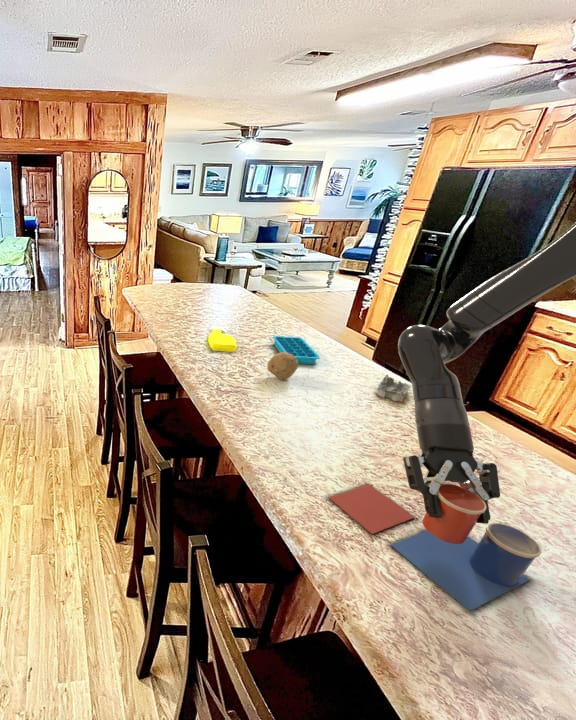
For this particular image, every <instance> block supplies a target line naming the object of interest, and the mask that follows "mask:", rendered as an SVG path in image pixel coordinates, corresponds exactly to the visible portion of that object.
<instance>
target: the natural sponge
mask: <svg viewBox="0 0 576 720" xmlns="http://www.w3.org/2000/svg"><path fill="white" fill-rule="evenodd" d="M298 367H299V363H298V361H297V359H296V358H295V357H294V356H293V355H292V354H290V353H287V352H277V353H275V354H274V355H273V356H272V357H271V358H270V359H269V361H268V362H267V371H268V372H269V373H271V374H272V375H273V376H275V377H276V379H277V380H280V381H285V380H288V379H290V378H291V377H293V375H294V374H295V372H296V371H297V369H298Z"/></svg>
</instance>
